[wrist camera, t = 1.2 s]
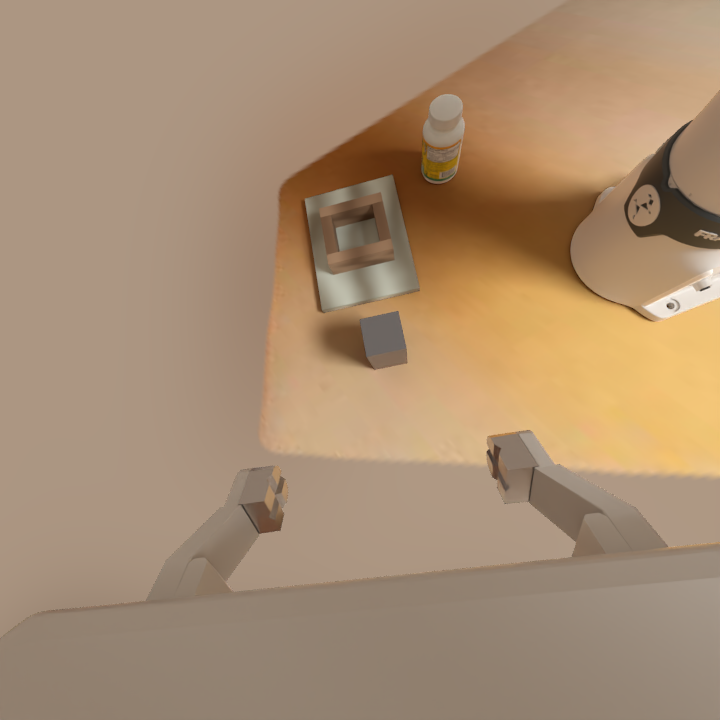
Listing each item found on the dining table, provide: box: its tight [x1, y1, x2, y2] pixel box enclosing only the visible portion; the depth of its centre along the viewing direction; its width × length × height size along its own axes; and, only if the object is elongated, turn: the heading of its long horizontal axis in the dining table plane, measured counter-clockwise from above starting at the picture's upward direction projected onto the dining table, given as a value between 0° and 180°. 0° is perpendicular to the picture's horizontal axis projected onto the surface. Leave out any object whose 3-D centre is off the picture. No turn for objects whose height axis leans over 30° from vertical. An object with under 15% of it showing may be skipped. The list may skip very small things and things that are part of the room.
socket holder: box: [305, 175, 420, 313], centre depth 45 cm, size 14×19×4 cm
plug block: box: [360, 311, 407, 370], centre depth 39 cm, size 4×4×8 cm
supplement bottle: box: [421, 94, 465, 184], centre depth 42 cm, size 5×5×10 cm
